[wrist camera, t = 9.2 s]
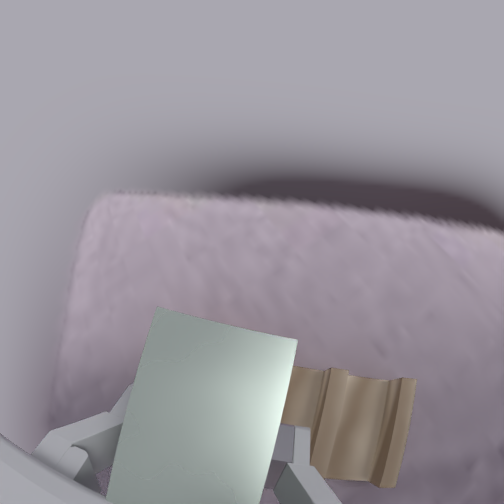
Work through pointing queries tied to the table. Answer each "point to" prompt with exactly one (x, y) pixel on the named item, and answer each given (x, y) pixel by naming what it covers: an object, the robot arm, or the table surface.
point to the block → (201, 414)
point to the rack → (352, 422)
